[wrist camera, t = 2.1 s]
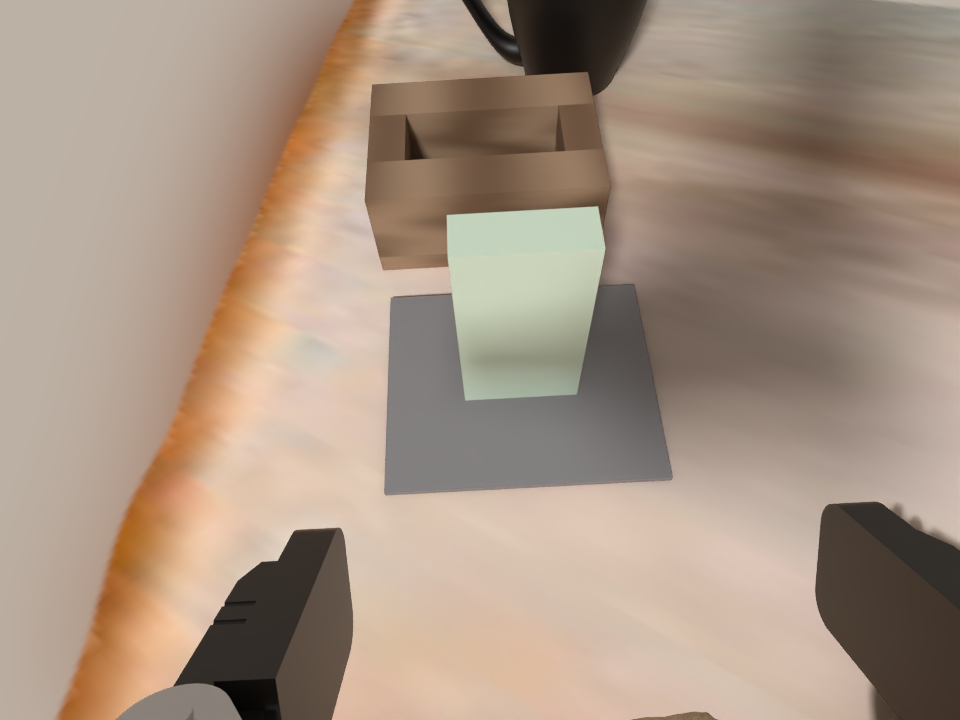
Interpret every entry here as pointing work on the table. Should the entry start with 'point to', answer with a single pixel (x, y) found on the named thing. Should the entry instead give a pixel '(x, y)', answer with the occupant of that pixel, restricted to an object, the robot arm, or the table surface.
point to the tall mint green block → (524, 298)
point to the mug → (564, 35)
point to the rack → (477, 157)
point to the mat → (520, 410)
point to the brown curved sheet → (683, 717)
